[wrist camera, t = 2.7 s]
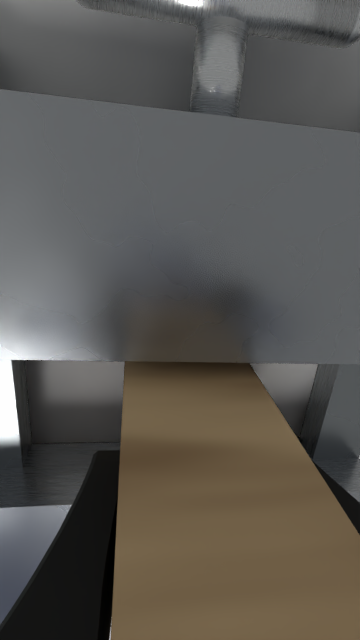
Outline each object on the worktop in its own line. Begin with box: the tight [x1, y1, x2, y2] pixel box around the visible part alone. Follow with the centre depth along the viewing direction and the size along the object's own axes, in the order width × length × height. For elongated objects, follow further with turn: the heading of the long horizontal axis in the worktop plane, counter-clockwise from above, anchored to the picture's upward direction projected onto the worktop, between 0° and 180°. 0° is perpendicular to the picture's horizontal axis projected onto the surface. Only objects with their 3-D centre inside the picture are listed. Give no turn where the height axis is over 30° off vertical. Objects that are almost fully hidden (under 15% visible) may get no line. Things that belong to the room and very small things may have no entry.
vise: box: [0, 0, 360, 624], centre depth 11 cm, size 22×15×3 cm
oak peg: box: [111, 361, 360, 640], centre depth 8 cm, size 4×4×9 cm
